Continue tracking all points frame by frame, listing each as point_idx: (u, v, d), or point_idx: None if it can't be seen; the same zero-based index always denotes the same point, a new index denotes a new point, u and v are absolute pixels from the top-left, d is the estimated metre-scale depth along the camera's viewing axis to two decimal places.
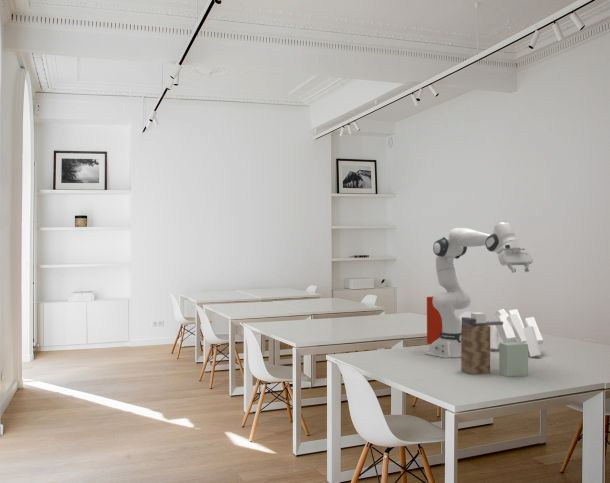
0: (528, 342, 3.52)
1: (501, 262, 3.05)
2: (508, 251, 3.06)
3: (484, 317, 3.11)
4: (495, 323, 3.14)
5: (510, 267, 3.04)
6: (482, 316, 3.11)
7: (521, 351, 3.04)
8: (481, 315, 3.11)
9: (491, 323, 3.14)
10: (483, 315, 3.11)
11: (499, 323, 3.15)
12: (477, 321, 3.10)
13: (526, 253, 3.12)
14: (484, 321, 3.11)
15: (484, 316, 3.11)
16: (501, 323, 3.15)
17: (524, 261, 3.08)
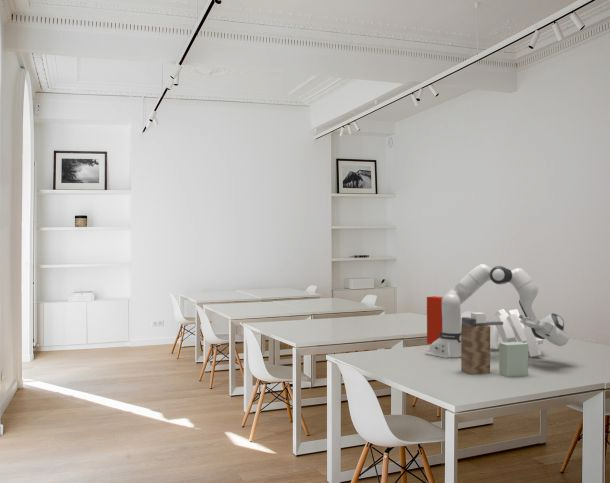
0: (528, 342, 3.52)
1: (546, 323, 3.13)
2: (544, 331, 3.18)
3: (484, 317, 3.11)
4: (495, 323, 3.14)
5: (535, 321, 3.16)
6: (482, 316, 3.11)
7: (521, 351, 3.04)
8: (481, 315, 3.11)
9: (491, 323, 3.14)
10: (483, 315, 3.11)
11: (499, 323, 3.15)
12: (477, 321, 3.10)
13: (528, 326, 3.30)
14: (484, 321, 3.11)
15: (484, 316, 3.11)
16: (501, 323, 3.15)
17: (526, 323, 3.25)
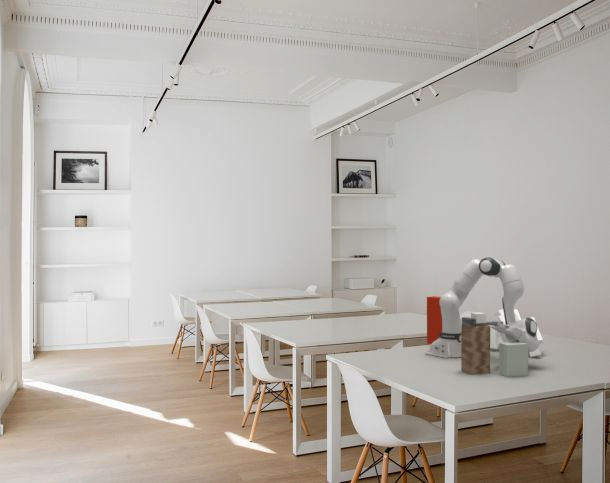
0: None
1: (515, 329, 3.08)
2: (514, 337, 3.13)
3: (484, 317, 3.11)
4: (495, 323, 3.14)
5: (502, 325, 3.13)
6: (482, 316, 3.11)
7: (521, 351, 3.04)
8: (481, 315, 3.11)
9: (491, 323, 3.14)
10: (483, 315, 3.11)
11: None
12: (477, 321, 3.10)
13: (499, 331, 3.25)
14: (484, 321, 3.11)
15: (484, 316, 3.11)
16: None
17: (496, 328, 3.20)
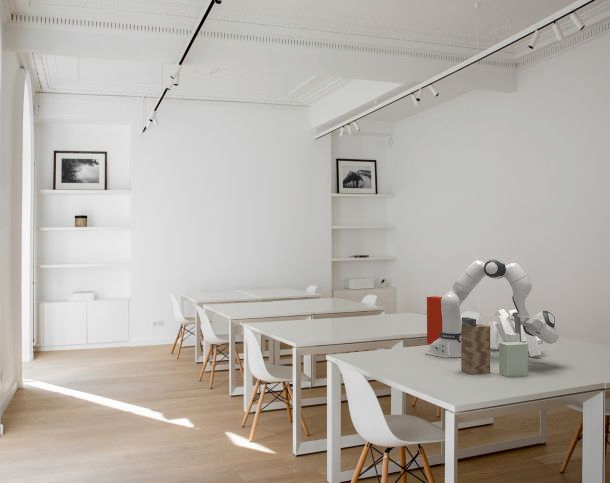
0: (528, 342, 3.52)
1: (536, 320, 3.10)
2: (534, 329, 3.14)
3: (515, 336, 3.15)
4: (519, 321, 3.17)
5: (522, 317, 3.15)
6: (514, 338, 3.15)
7: (521, 351, 3.04)
8: (513, 339, 3.15)
9: (519, 326, 3.17)
10: (513, 337, 3.14)
11: None
12: None
13: None
14: (518, 335, 3.15)
15: (514, 336, 3.15)
16: None
17: None
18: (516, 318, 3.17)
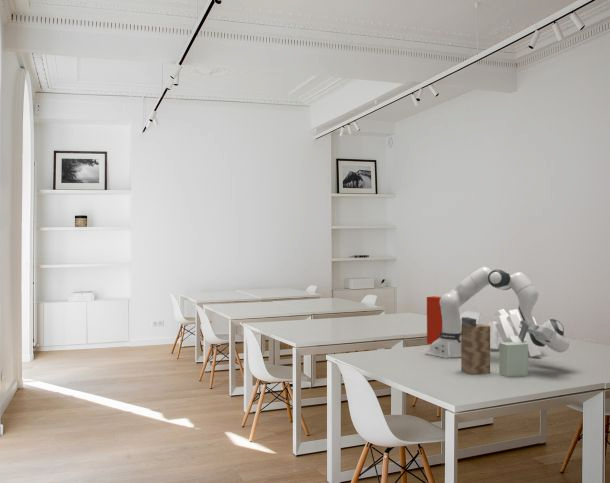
0: (528, 342, 3.52)
1: (545, 329, 3.00)
2: (544, 337, 3.05)
3: None
4: (525, 331, 3.09)
5: (532, 325, 3.05)
6: None
7: (521, 351, 3.04)
8: None
9: (524, 334, 3.10)
10: None
11: (526, 327, 3.08)
12: None
13: (527, 331, 3.17)
14: None
15: None
16: (527, 326, 3.07)
17: None
18: (524, 327, 3.09)
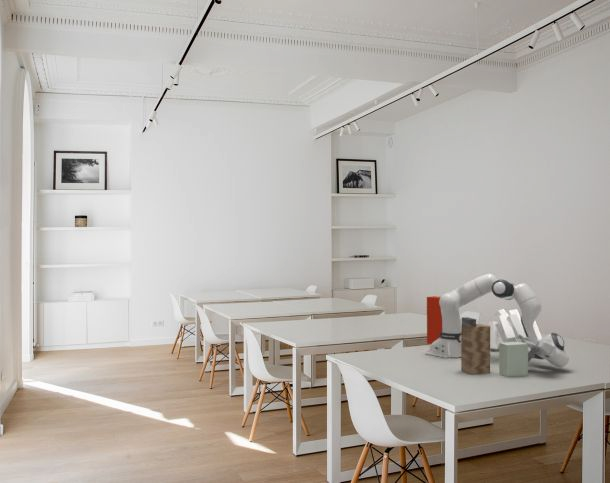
0: None
1: (545, 344, 3.00)
2: (544, 352, 3.05)
3: None
4: (533, 354, 3.10)
5: (535, 341, 3.03)
6: None
7: (521, 351, 3.04)
8: None
9: (530, 357, 3.11)
10: None
11: (536, 351, 3.08)
12: None
13: None
14: None
15: None
16: (537, 349, 3.08)
17: None
18: (533, 350, 3.10)
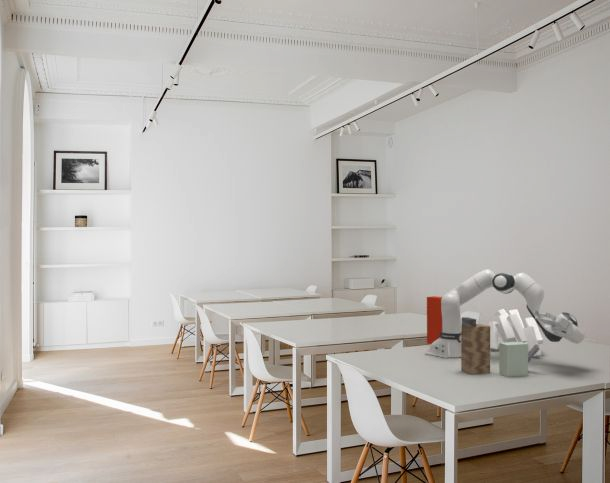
0: (528, 342, 3.52)
1: (562, 319, 3.03)
2: (561, 328, 3.08)
3: None
4: (533, 354, 3.10)
5: (552, 317, 3.06)
6: None
7: (521, 351, 3.04)
8: None
9: (530, 357, 3.11)
10: None
11: (536, 351, 3.08)
12: None
13: (543, 322, 3.20)
14: None
15: None
16: (537, 349, 3.08)
17: (542, 319, 3.15)
18: (533, 350, 3.10)
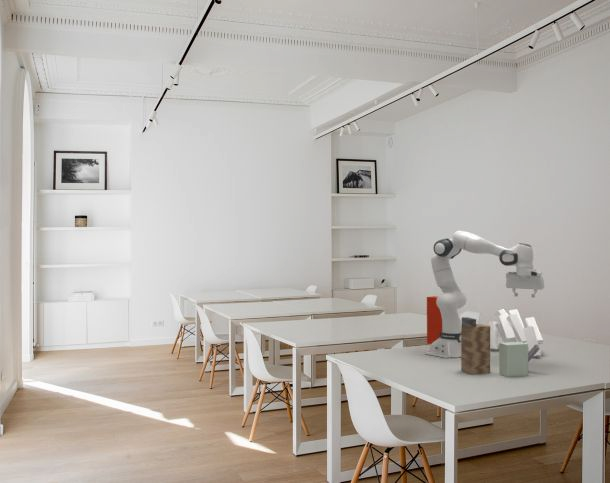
0: (528, 342, 3.52)
1: (543, 287, 3.19)
2: None
3: None
4: (533, 354, 3.10)
5: (535, 292, 3.22)
6: None
7: (521, 351, 3.04)
8: None
9: (530, 357, 3.11)
10: None
11: (536, 351, 3.08)
12: None
13: None
14: None
15: None
16: (537, 349, 3.08)
17: None
18: (533, 350, 3.10)
